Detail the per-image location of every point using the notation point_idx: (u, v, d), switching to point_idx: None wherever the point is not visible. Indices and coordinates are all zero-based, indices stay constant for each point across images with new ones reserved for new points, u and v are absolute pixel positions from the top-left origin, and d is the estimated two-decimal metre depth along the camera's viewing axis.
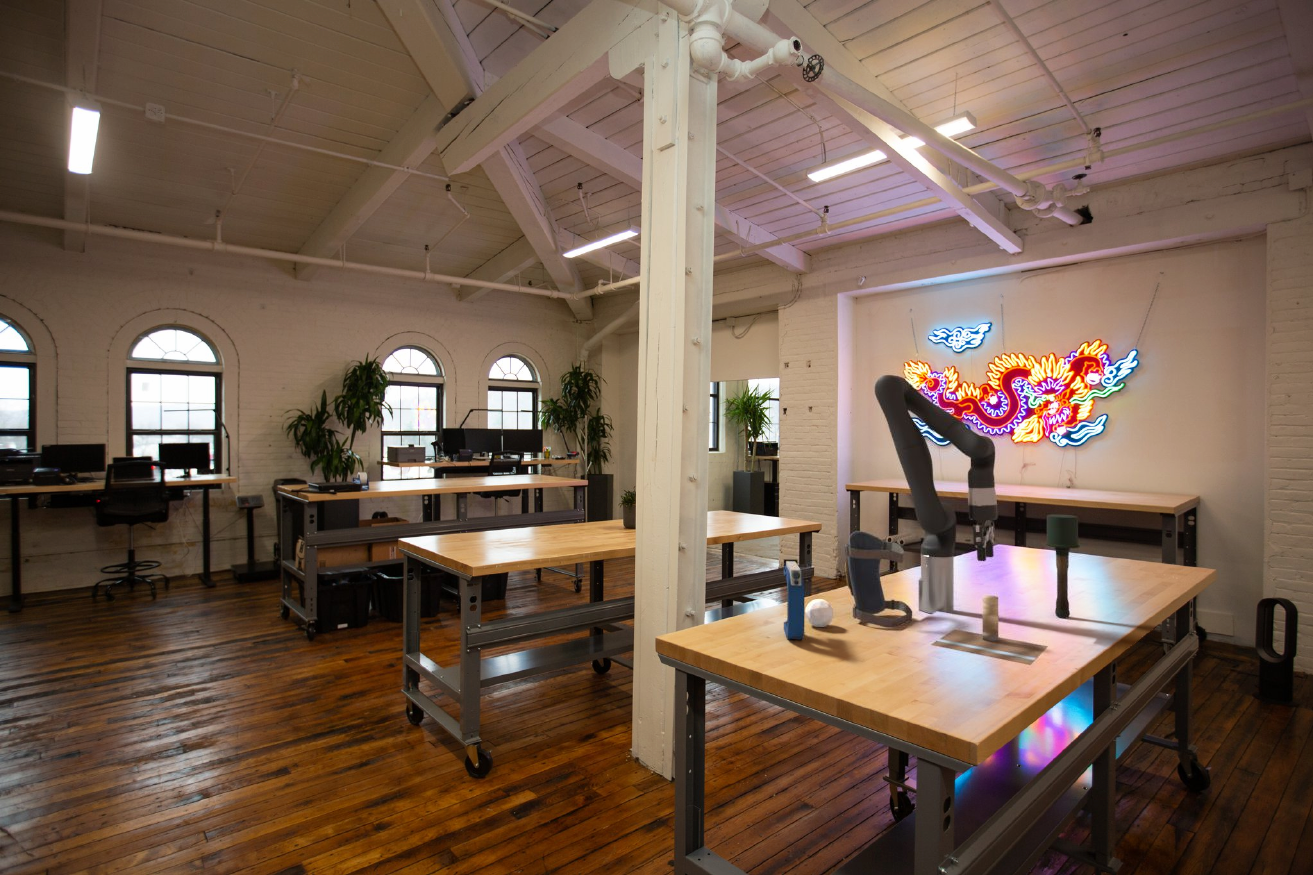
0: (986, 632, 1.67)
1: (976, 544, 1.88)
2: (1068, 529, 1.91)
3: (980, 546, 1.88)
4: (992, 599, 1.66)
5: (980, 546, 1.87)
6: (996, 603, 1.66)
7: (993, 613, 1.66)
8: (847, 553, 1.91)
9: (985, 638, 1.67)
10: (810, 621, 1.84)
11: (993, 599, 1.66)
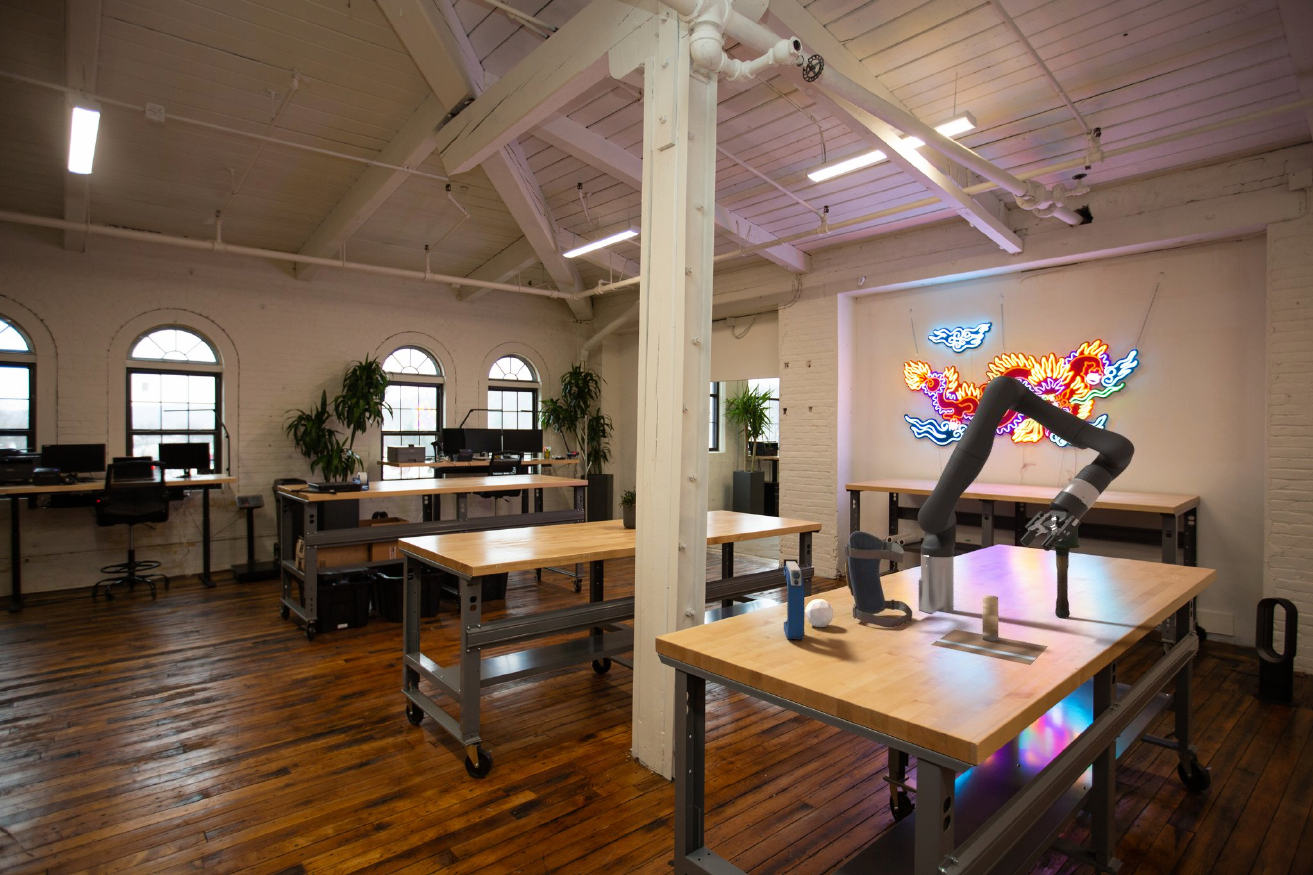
0: (986, 632, 1.67)
1: (1062, 534, 1.62)
2: None
3: (1061, 538, 1.63)
4: (992, 599, 1.66)
5: (1062, 538, 1.63)
6: (996, 603, 1.66)
7: (993, 613, 1.66)
8: (847, 553, 1.91)
9: (985, 638, 1.67)
10: (810, 621, 1.84)
11: (993, 599, 1.66)
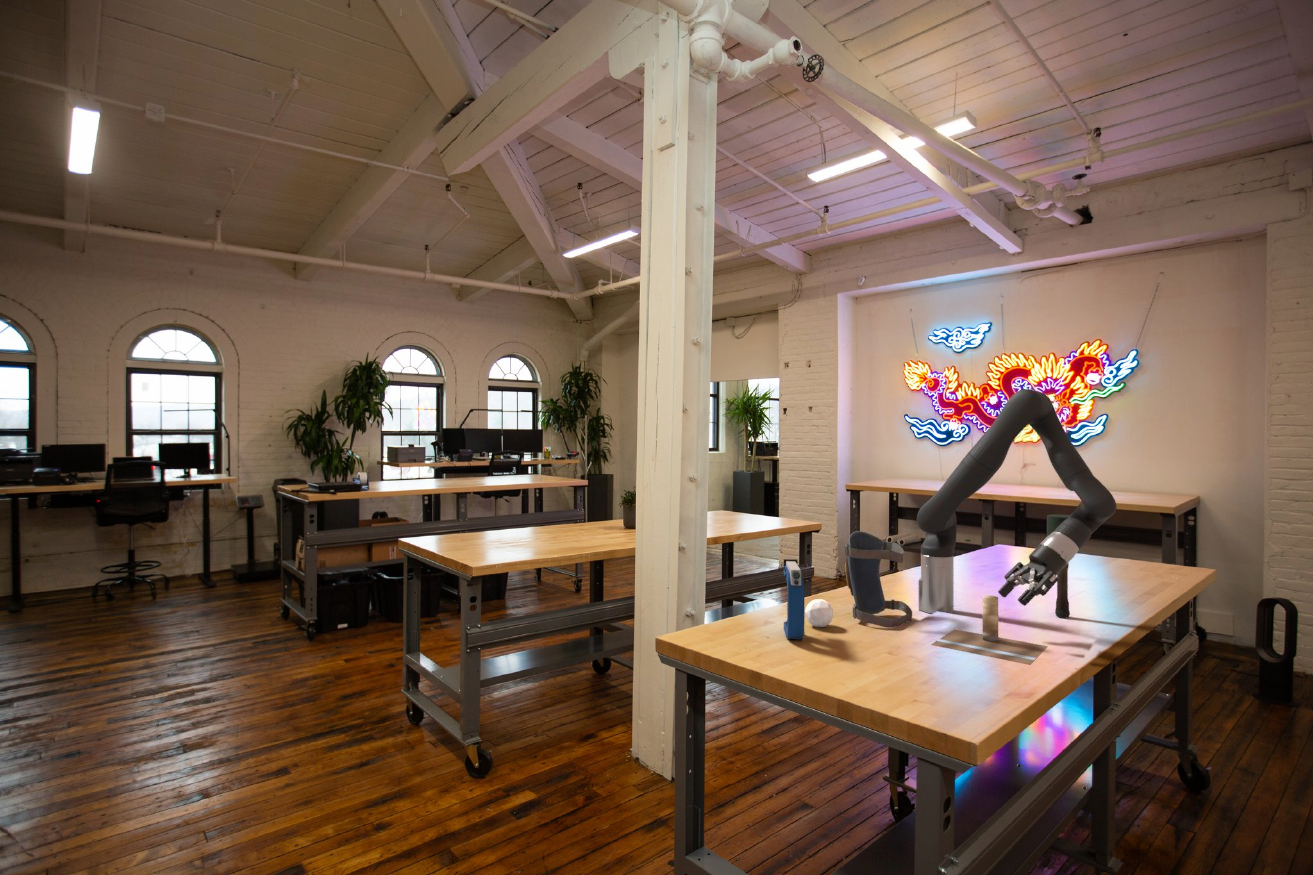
0: (986, 632, 1.67)
1: (1040, 589, 1.61)
2: None
3: (1038, 593, 1.62)
4: (992, 599, 1.66)
5: (1039, 593, 1.62)
6: (996, 603, 1.66)
7: (993, 613, 1.66)
8: (847, 553, 1.91)
9: (985, 638, 1.67)
10: (810, 621, 1.84)
11: (993, 599, 1.66)
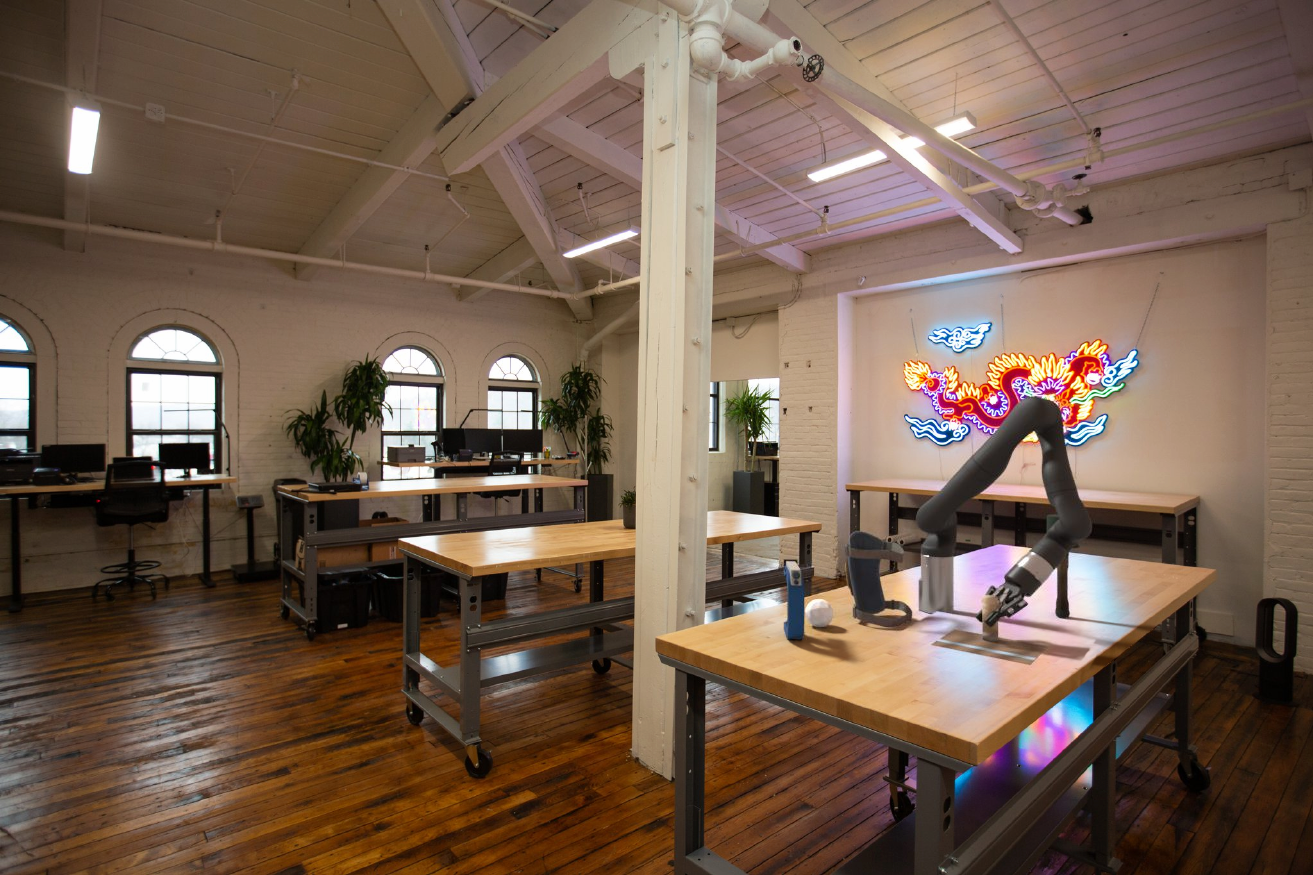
0: (986, 632, 1.67)
1: (1004, 612, 1.63)
2: None
3: (1004, 615, 1.64)
4: (992, 599, 1.66)
5: (1005, 615, 1.64)
6: (996, 603, 1.66)
7: None
8: (847, 553, 1.91)
9: (984, 638, 1.67)
10: (810, 621, 1.84)
11: (993, 599, 1.66)
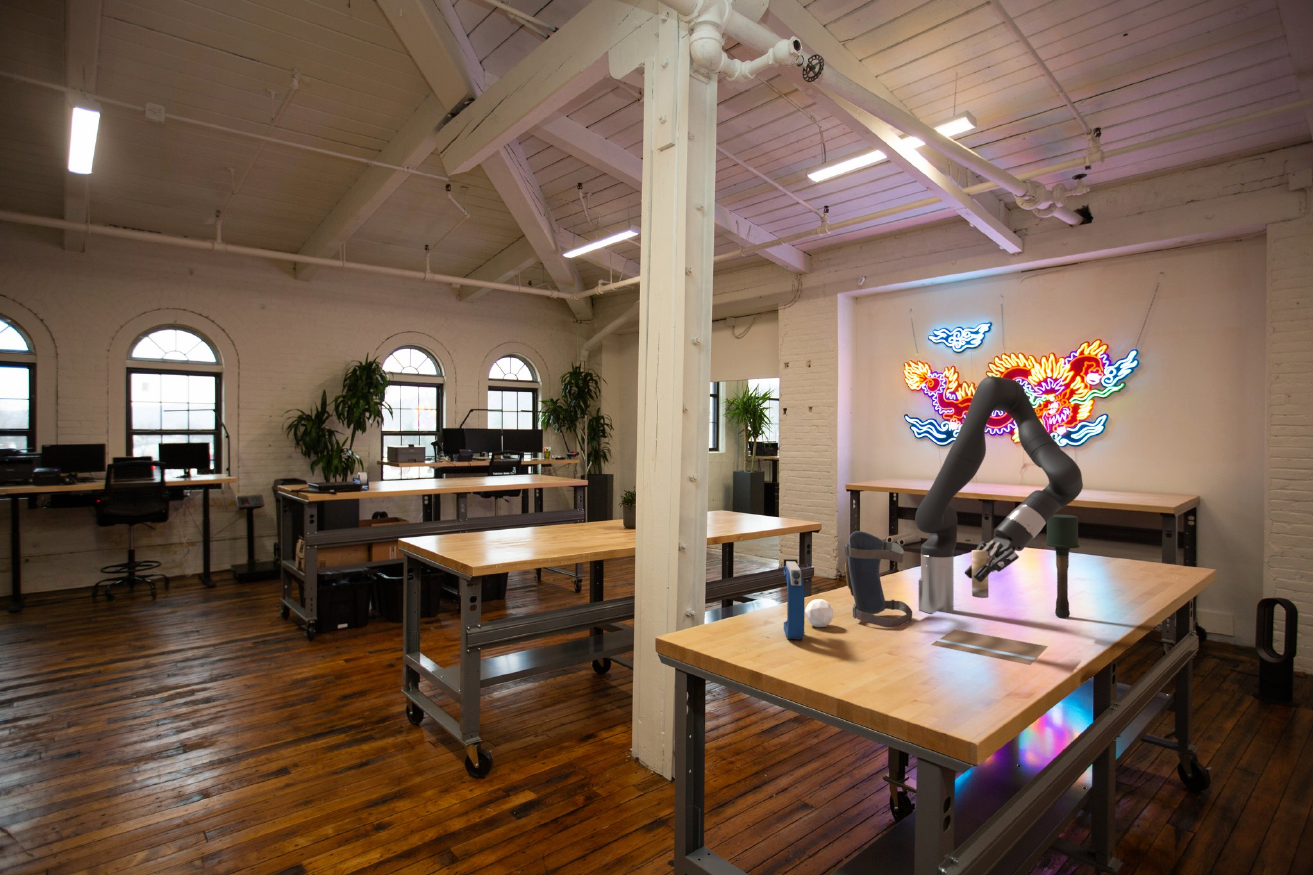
0: (976, 587, 1.60)
1: (994, 566, 1.56)
2: (1068, 529, 1.91)
3: (994, 569, 1.57)
4: (981, 553, 1.59)
5: (995, 569, 1.57)
6: (986, 557, 1.59)
7: None
8: (847, 553, 1.91)
9: (974, 594, 1.60)
10: (810, 621, 1.84)
11: (982, 553, 1.59)
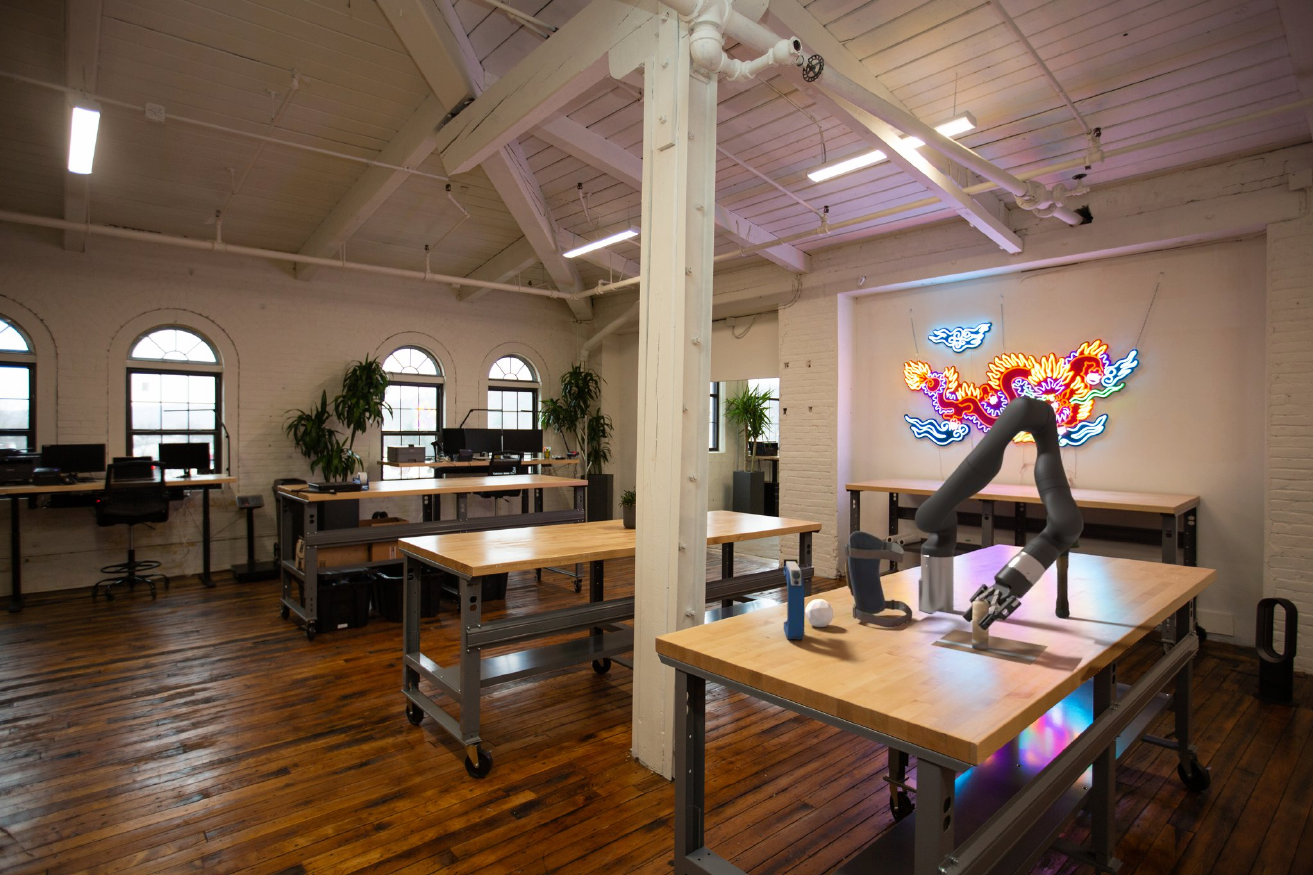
0: (976, 639, 1.60)
1: (1000, 614, 1.55)
2: None
3: (999, 617, 1.56)
4: (982, 606, 1.59)
5: (999, 618, 1.56)
6: (987, 610, 1.59)
7: None
8: (847, 553, 1.91)
9: (974, 646, 1.60)
10: (810, 621, 1.84)
11: (983, 606, 1.59)
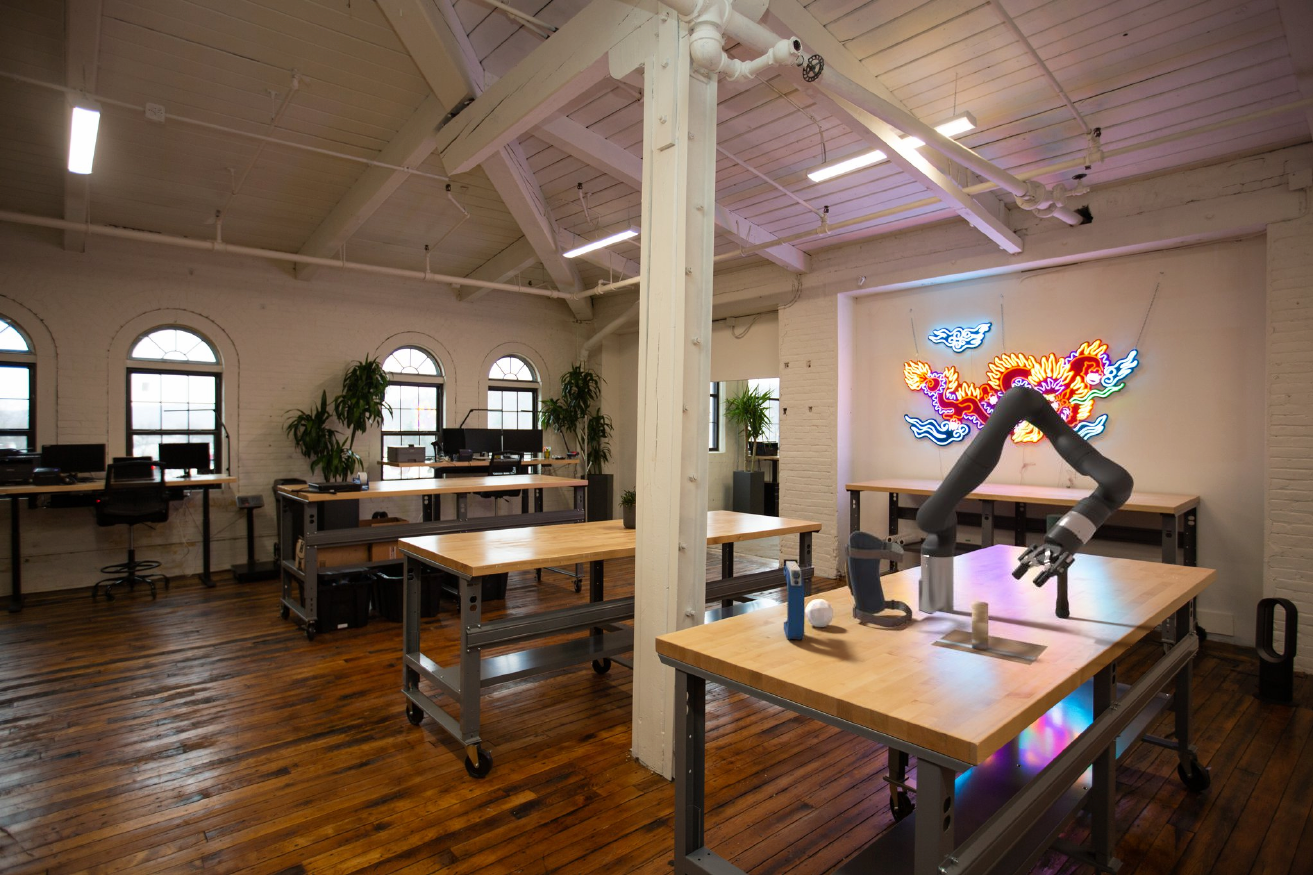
0: (975, 640, 1.60)
1: (1056, 571, 1.55)
2: None
3: (1054, 574, 1.56)
4: (982, 605, 1.59)
5: (1055, 574, 1.56)
6: (986, 610, 1.59)
7: (982, 620, 1.59)
8: (847, 553, 1.91)
9: (974, 646, 1.60)
10: (810, 621, 1.84)
11: (983, 605, 1.59)
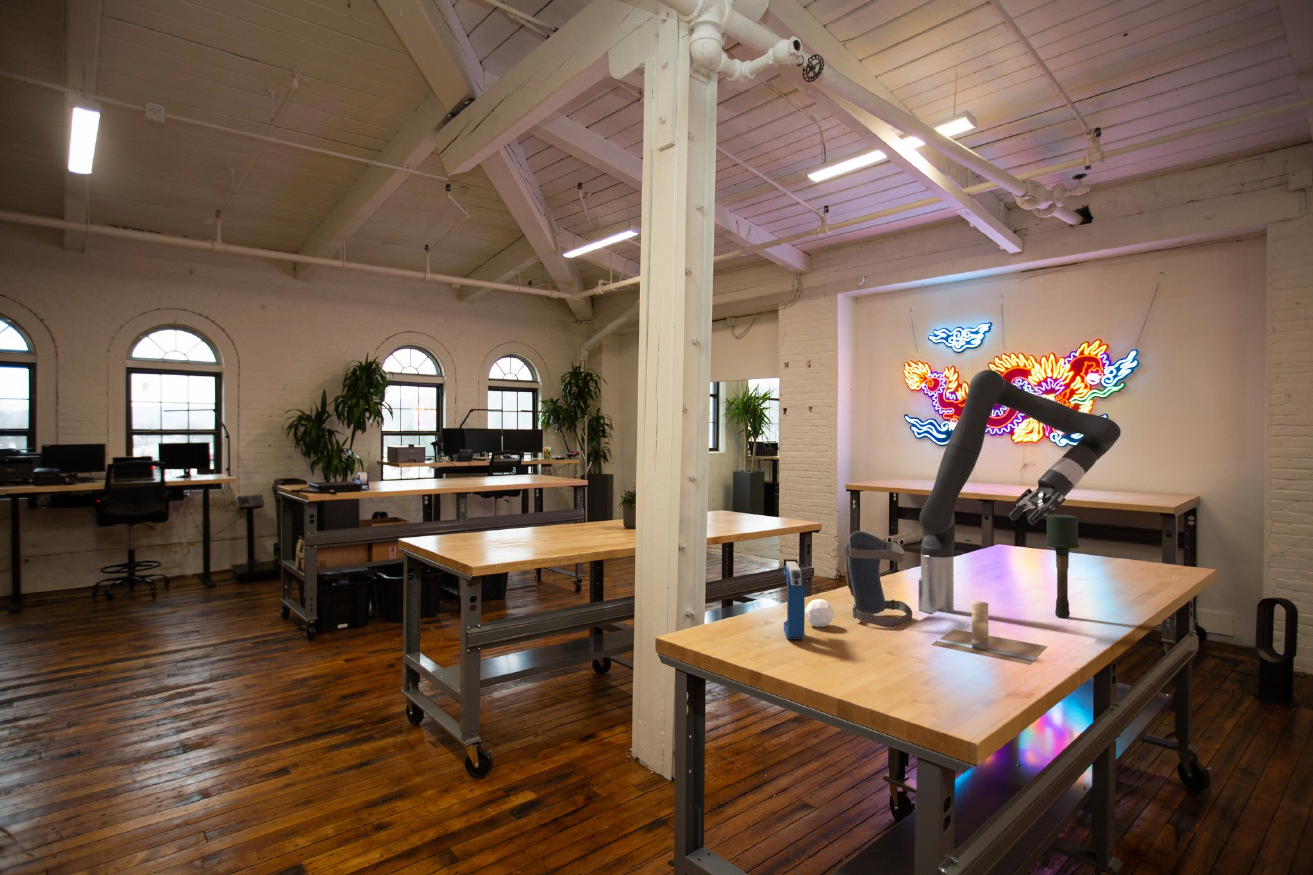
0: (975, 640, 1.60)
1: (1048, 509, 1.72)
2: (1068, 529, 1.91)
3: (1047, 512, 1.72)
4: (982, 605, 1.59)
5: (1047, 512, 1.72)
6: (986, 610, 1.59)
7: (983, 620, 1.59)
8: (847, 553, 1.91)
9: (974, 646, 1.60)
10: (810, 621, 1.84)
11: (983, 605, 1.59)
